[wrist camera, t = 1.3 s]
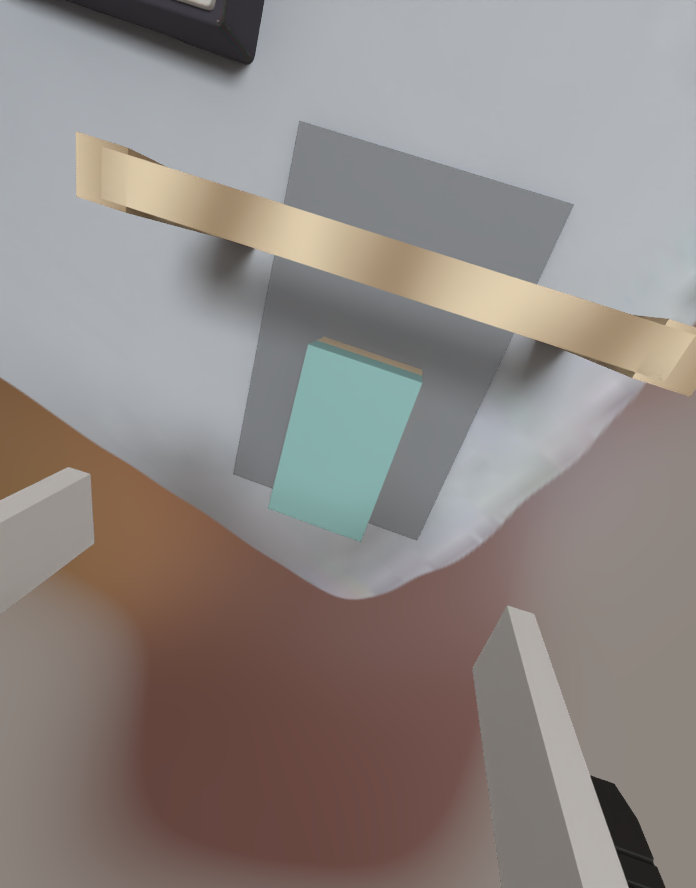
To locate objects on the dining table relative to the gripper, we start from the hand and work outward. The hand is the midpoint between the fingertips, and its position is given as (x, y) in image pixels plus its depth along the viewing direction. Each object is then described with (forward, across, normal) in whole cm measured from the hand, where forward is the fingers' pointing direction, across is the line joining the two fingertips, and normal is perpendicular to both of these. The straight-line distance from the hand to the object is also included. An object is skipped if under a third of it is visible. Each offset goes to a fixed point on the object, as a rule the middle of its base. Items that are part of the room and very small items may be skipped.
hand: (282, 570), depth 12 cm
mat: (+17, 0, +3) cm, 18 cm away
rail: (+17, 0, +9) cm, 20 cm away
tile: (+17, -1, -2) cm, 17 cm away
